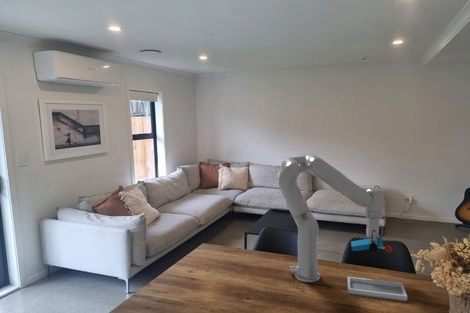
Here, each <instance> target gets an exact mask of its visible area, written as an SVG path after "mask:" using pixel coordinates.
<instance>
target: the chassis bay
mask: <svg viewBox="0 0 470 313" xmlns="http://www.w3.org/2000/svg"><path fill="white" fill-rule="evenodd" d="M347 294H348V295H353V296H358V297H359V296H360V297H366V298H367V297H368V298H376V299H382V300H390V301H391V300H392V301H398V302H407V303H408V295H407V292H406V289H405V287H404V283H403V282H398V281H389V280H383V279H381V280H380V279H371V278H363V277H356V276H347Z"/></svg>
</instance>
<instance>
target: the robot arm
mask: <svg viewBox="0 0 470 313" xmlns="http://www.w3.org/2000/svg"><path fill="white" fill-rule="evenodd" d="M308 172H309V173H310V174H311V175H313V176H314V177H315V178H317V179H319V180H320V181H321V182H323V183H324V184H325V185H327V186H329V187H330V188H332V189H333V190H334V191H337V192H338V193H340V194H341V195H342V196H344V197H345V198H347V199H349V200H350V201H351V202H353V203H354V204H355V205H357V206H358V207H361V208H365V217H366V229H365V231H366V232H365V233H366V237H367V239H370V248H369V249H368V251H369V252H371V253H377V252H378V251H377V249H378V248H377V238H378V237H380V236H379V234H380V233H379V232H380V219H382V218H383V207H384V206H383V205H384V204H383V203H384V191H383V189H381V188H378V187H377V188H376V187H369V188H366V187H361V186H359V185H358V184H357V183H356V182H354V181H352V180H351V179H349V178H348V177H347V176H346V175H345V174H344V173H342V172H341V171H339V170H338V169H336V168H335V167H334V166H332V165H331V164H330V163H328V162H327V161H325V160H324V159H322V158H321V157H319V156H317V155H315V154H310V155H309V154H308V155H302V156H301V155H300V156H295V157H287V158H284V160H283V161H282V163H281V172H280V174H279V178H278V186H279V189H280V192H281V194H282V195H283V198H284V199H285V205H286V206H287V208H288V211H289V212H290V214H291V216H292V218H293V220H294V222H295V224H296V227H297V233H298V234H297V265H295V266H293V265H289V266H288V270H290V272H291V273H294V277H295V279H297V280H298V281H301V282H303V283H314V282H318V281H319V280H321V273H320V272H319V271H318V236H319V223H318V220H317V219H316V217H315V216H314V215H313V214H312V211H311V209H310V208H309V205H308V202H307V199H306V198H305V196H304V195H303V194H302V191H301V190H300V187H299V185H298V182H297V181H298V177H299V176H300V175H301V174H303V173H308ZM372 239H373V240H372Z"/></svg>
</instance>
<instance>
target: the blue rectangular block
mask: <svg viewBox="0 0 470 313" xmlns="http://www.w3.org/2000/svg"><path fill="white" fill-rule="evenodd" d="M372 240H373V239H372ZM350 243H351V250H352V252H356V251H364V250H369V248H370V239H368V238H365V239H359V240H352V241H350ZM377 249H382V250H384V251H385V252H386V253H392V252H393V248H392V246H391V245H386V246H384V243H383V240H382V237H381V236H378V238H377Z"/></svg>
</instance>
